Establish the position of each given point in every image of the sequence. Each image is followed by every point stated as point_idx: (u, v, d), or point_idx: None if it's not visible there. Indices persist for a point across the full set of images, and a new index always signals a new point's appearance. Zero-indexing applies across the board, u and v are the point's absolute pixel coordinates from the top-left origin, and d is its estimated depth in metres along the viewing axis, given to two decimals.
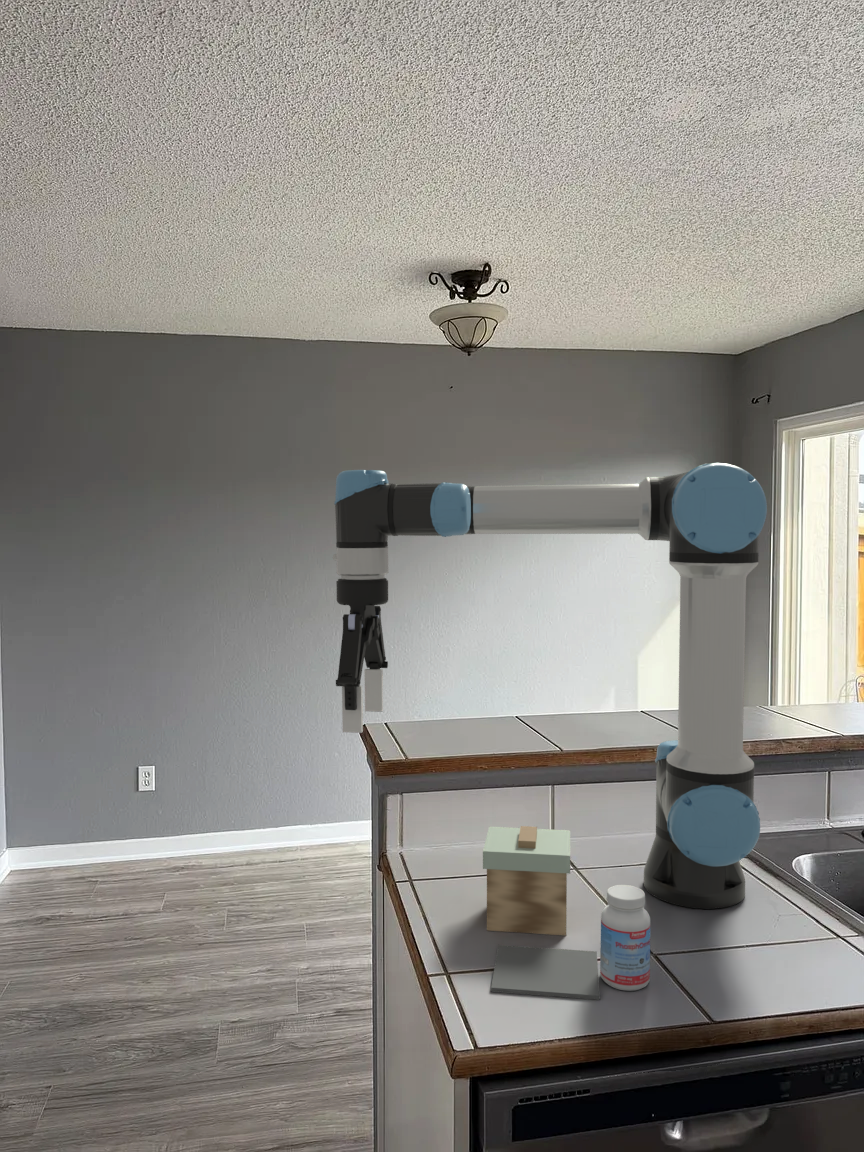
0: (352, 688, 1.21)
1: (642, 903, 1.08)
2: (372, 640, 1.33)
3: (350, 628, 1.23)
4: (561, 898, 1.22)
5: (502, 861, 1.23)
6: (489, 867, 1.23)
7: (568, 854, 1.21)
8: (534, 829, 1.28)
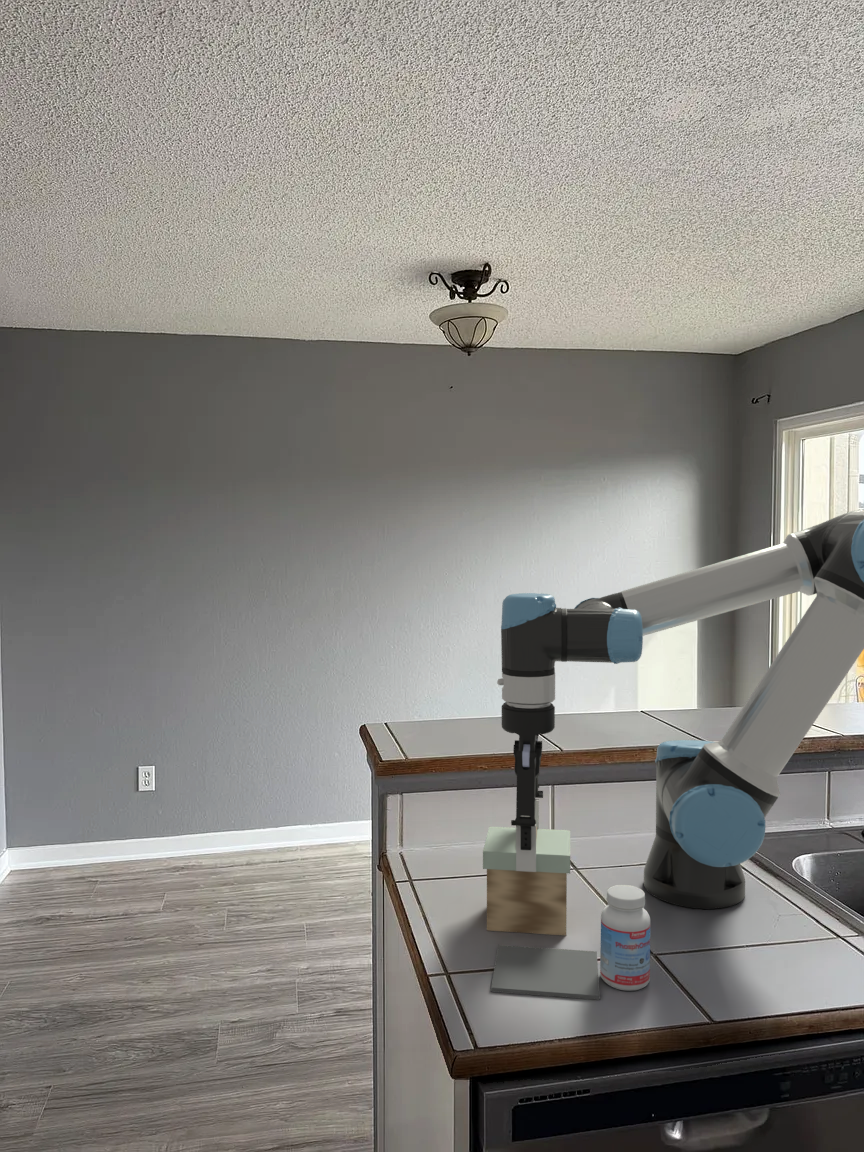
0: (528, 828, 1.20)
1: (642, 903, 1.08)
2: None
3: (524, 766, 1.20)
4: (561, 898, 1.22)
5: (502, 861, 1.23)
6: (489, 867, 1.23)
7: (568, 854, 1.21)
8: None
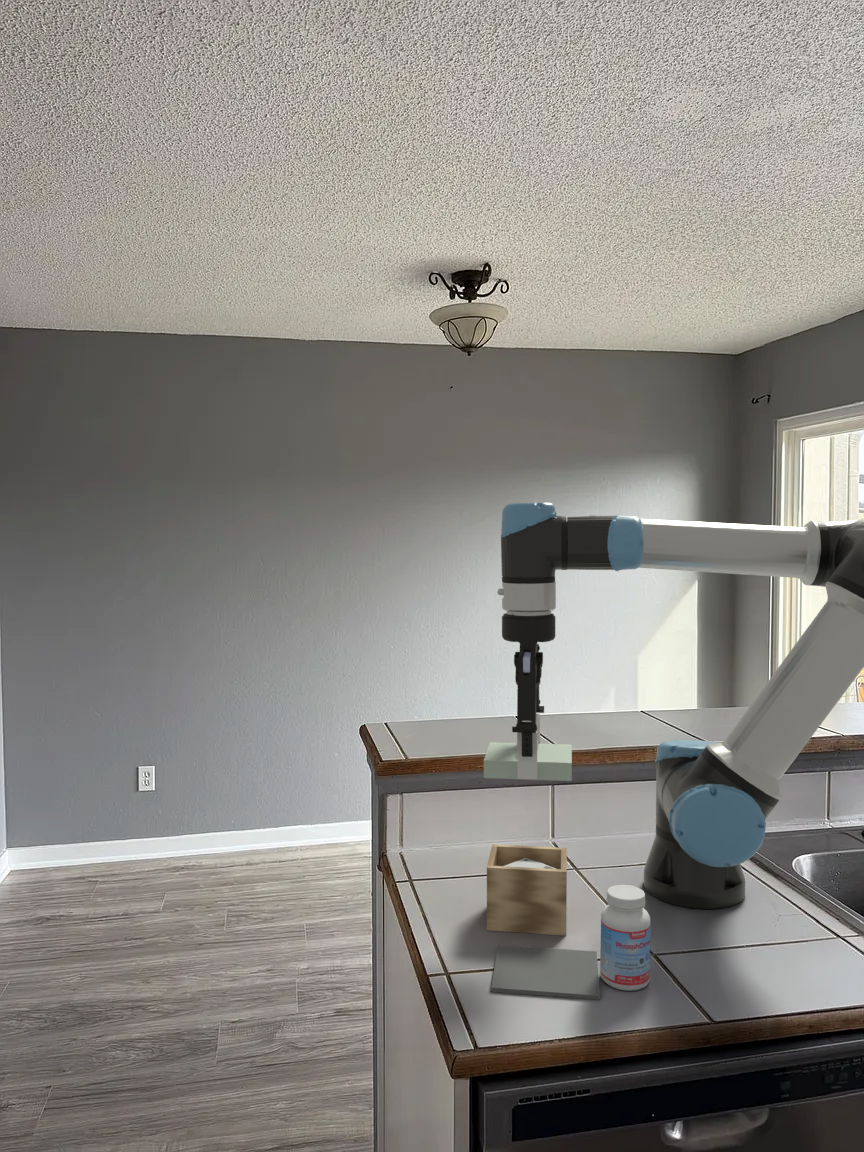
0: (530, 734, 1.19)
1: (642, 903, 1.08)
2: None
3: (525, 671, 1.19)
4: (561, 898, 1.22)
5: (503, 770, 1.22)
6: (490, 776, 1.22)
7: (570, 762, 1.21)
8: None
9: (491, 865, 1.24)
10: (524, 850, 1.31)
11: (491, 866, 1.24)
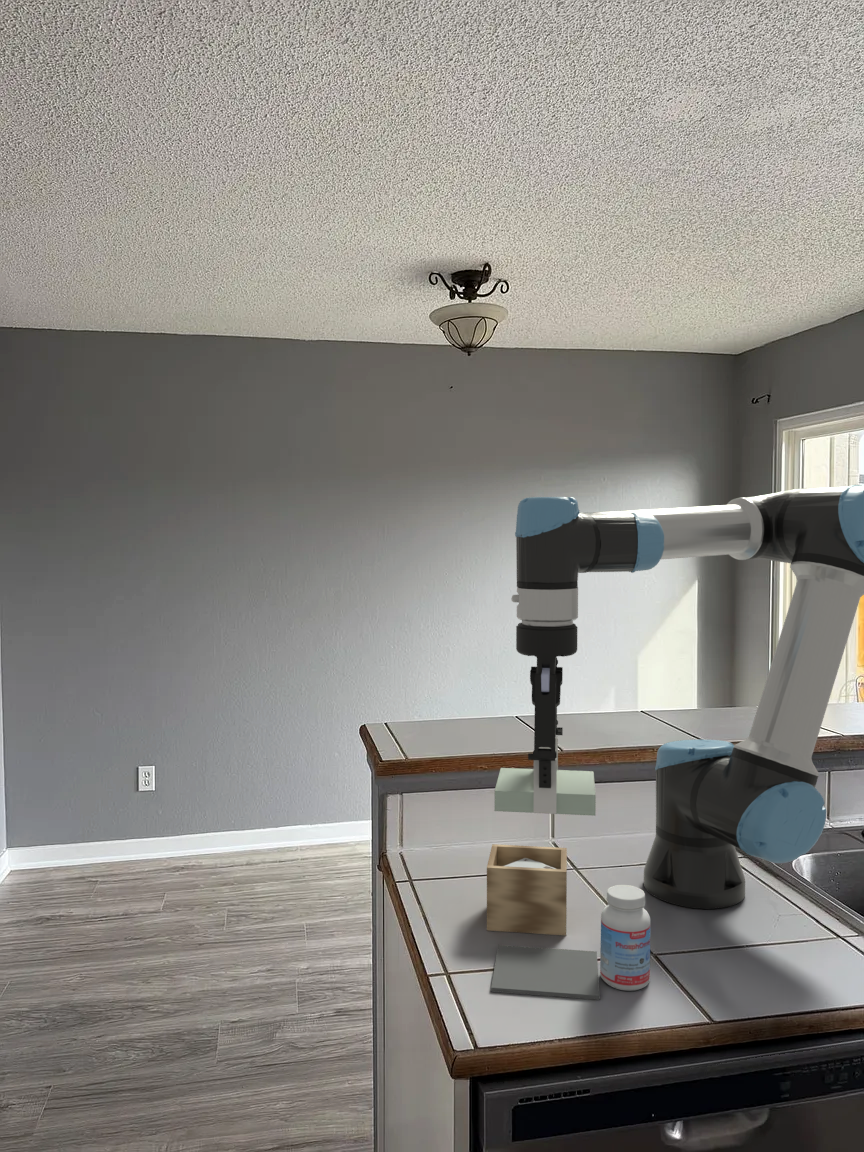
0: (548, 763, 1.04)
1: (642, 903, 1.08)
2: None
3: (543, 690, 1.04)
4: (561, 898, 1.22)
5: (517, 802, 1.06)
6: (502, 809, 1.07)
7: (593, 793, 1.05)
8: None
9: (491, 865, 1.24)
10: (524, 850, 1.31)
11: (491, 866, 1.24)
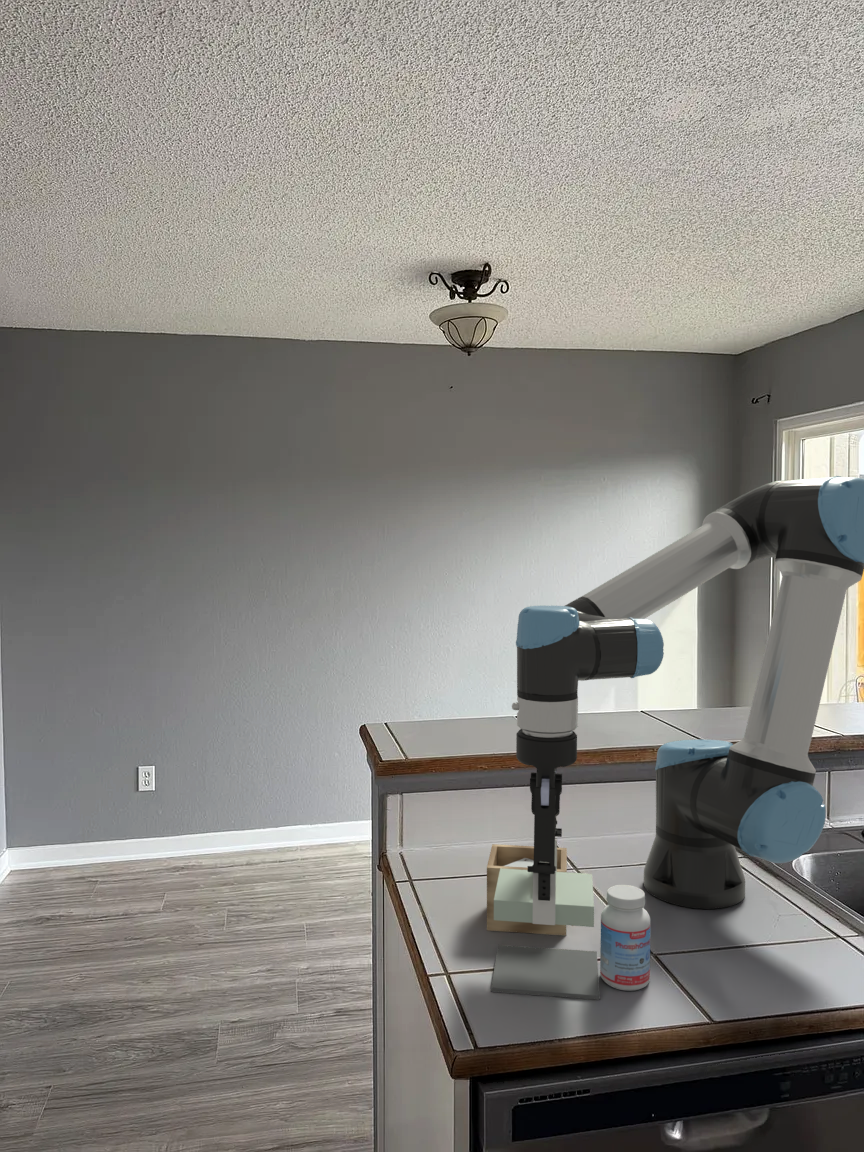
0: (547, 876, 1.04)
1: (642, 903, 1.08)
2: None
3: (543, 804, 1.04)
4: None
5: (516, 912, 1.07)
6: (501, 918, 1.08)
7: (592, 905, 1.06)
8: None
9: (491, 865, 1.24)
10: (524, 850, 1.31)
11: (491, 866, 1.24)
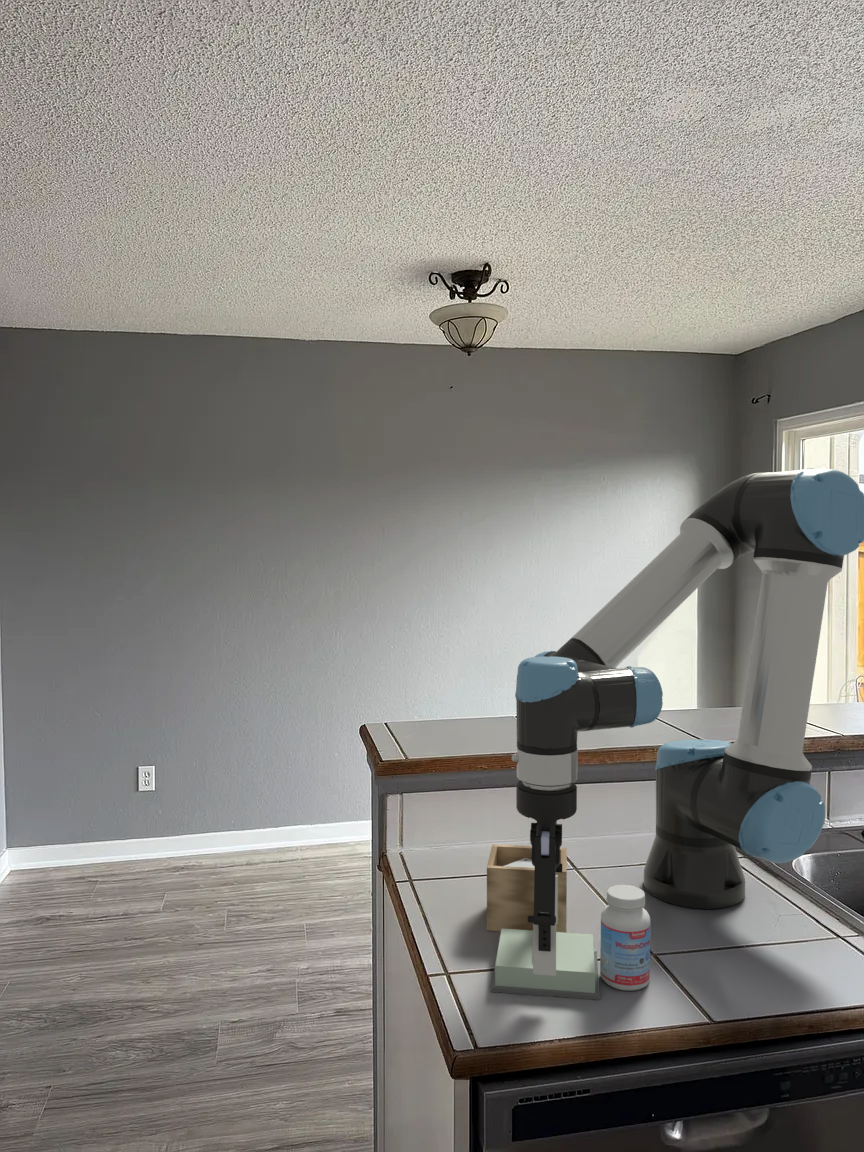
0: (548, 927, 1.03)
1: (642, 903, 1.08)
2: None
3: (543, 854, 1.05)
4: (561, 898, 1.22)
5: (517, 977, 1.08)
6: (502, 984, 1.08)
7: (592, 971, 1.07)
8: None
9: (491, 865, 1.24)
10: (524, 850, 1.31)
11: (491, 866, 1.24)
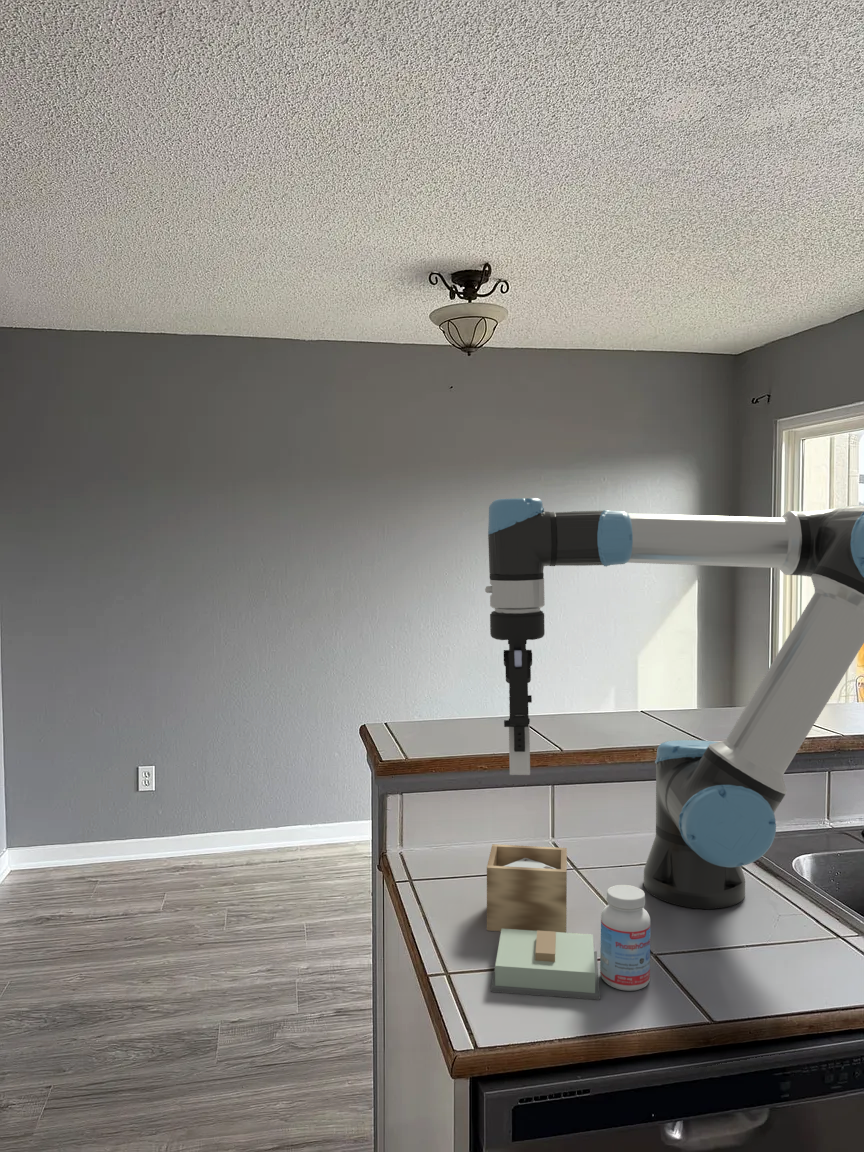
0: (522, 729, 1.15)
1: (642, 903, 1.08)
2: None
3: (517, 665, 1.17)
4: (561, 898, 1.22)
5: (517, 977, 1.08)
6: (502, 984, 1.08)
7: (592, 971, 1.07)
8: (552, 935, 1.14)
9: (491, 865, 1.24)
10: (524, 850, 1.31)
11: (491, 866, 1.24)
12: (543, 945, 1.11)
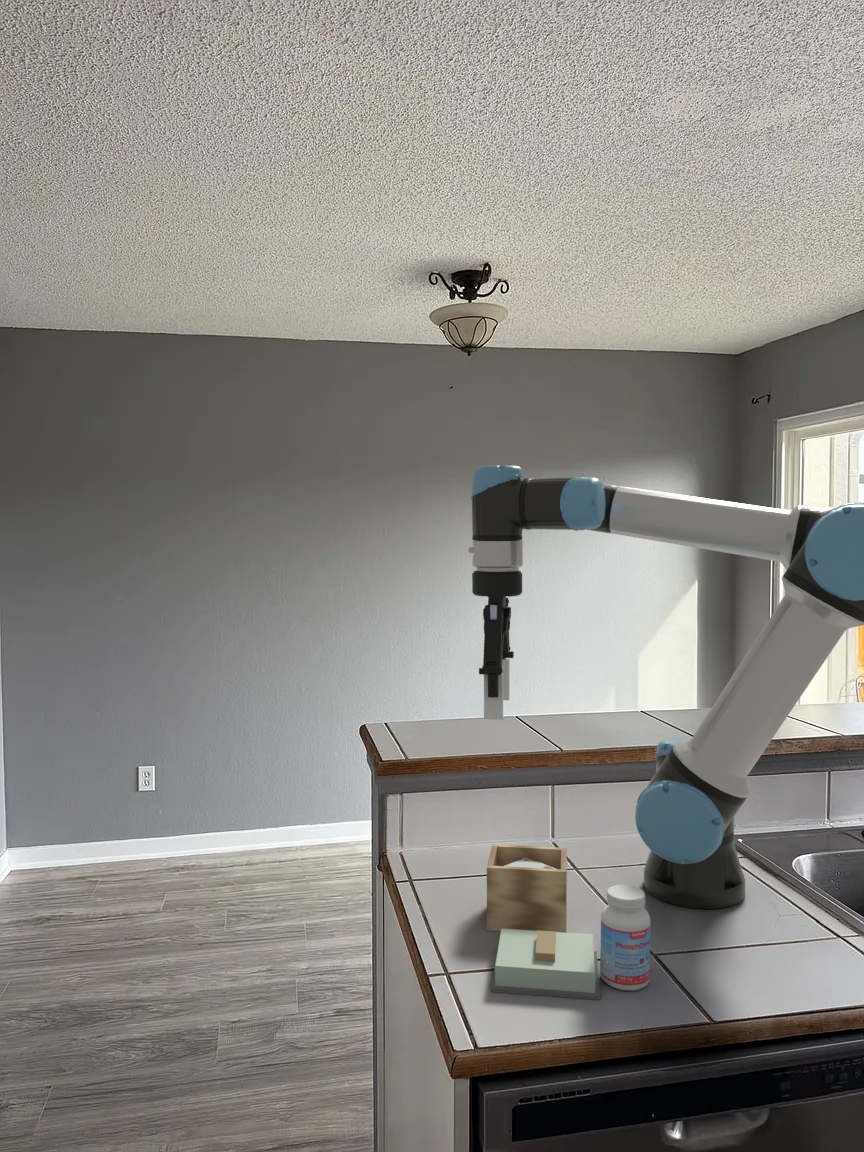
0: (495, 676, 1.26)
1: (642, 903, 1.08)
2: None
3: (492, 618, 1.27)
4: (561, 898, 1.22)
5: (517, 977, 1.08)
6: (502, 984, 1.08)
7: (592, 971, 1.07)
8: (552, 935, 1.14)
9: (491, 865, 1.24)
10: (524, 850, 1.31)
11: (491, 866, 1.24)
12: (543, 945, 1.11)
